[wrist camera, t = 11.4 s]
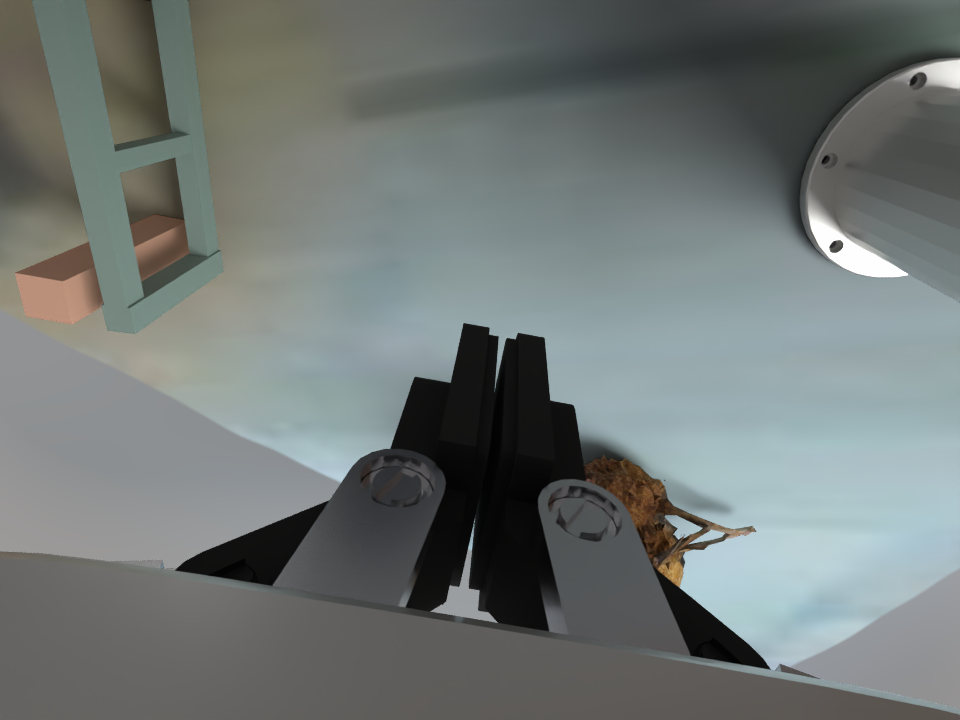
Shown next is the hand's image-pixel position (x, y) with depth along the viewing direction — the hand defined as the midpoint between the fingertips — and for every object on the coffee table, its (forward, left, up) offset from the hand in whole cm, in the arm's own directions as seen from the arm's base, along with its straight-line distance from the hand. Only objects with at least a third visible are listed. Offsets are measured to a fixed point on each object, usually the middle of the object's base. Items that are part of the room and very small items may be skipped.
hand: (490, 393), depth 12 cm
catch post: (+22, +9, -27) cm, 36 cm away
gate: (+20, +1, -26) cm, 33 cm away
